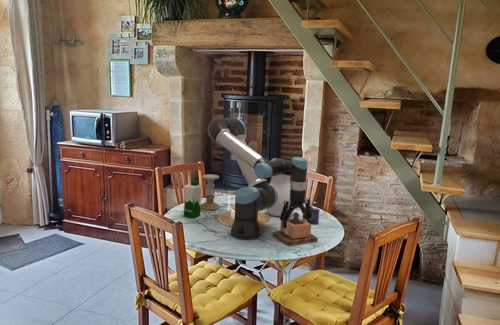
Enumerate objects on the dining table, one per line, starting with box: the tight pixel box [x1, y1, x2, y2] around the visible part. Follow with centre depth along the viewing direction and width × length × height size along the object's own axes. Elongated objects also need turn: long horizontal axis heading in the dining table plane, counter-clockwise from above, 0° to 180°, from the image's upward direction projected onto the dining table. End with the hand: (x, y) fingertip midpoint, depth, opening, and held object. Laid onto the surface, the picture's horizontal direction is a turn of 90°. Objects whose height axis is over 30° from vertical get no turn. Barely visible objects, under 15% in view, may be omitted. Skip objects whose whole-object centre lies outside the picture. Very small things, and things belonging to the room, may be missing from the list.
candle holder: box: [201, 173, 221, 212], centre depth 229 cm, size 12×12×20 cm
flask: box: [301, 204, 320, 226], centre depth 210 cm, size 9×3×11 cm, turn 68°
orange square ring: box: [279, 217, 312, 239], centre depth 186 cm, size 10×12×6 cm
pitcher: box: [266, 175, 291, 217], centre depth 227 cm, size 24×17×28 cm
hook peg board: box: [272, 212, 319, 247], centre depth 186 cm, size 17×15×13 cm
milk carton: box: [182, 180, 202, 220], centre depth 212 cm, size 9×9×20 cm
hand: (295, 232), depth 187 cm, fingers closed on orange square ring, 10 cm apart
